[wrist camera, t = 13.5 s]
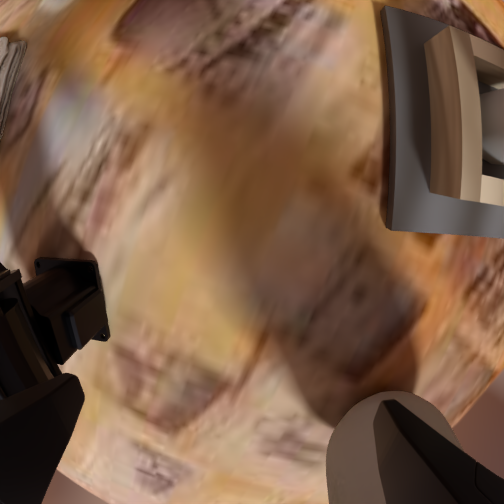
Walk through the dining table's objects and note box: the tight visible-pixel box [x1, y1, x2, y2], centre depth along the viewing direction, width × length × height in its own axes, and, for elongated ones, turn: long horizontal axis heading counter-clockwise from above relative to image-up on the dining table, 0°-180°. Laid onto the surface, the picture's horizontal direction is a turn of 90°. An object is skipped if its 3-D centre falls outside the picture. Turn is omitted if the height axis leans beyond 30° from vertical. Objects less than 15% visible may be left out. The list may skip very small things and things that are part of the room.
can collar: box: [380, 6, 504, 238], centre depth 13 cm, size 15×15×4 cm
